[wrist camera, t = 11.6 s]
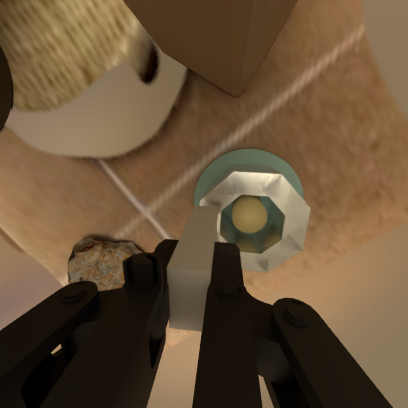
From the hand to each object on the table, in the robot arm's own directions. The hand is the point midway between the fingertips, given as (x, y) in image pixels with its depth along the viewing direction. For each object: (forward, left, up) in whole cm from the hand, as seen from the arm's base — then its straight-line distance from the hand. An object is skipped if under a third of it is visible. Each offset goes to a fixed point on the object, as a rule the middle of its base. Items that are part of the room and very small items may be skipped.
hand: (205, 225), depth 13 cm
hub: (+4, +1, -12) cm, 12 cm away
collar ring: (+4, +1, -10) cm, 11 cm away
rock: (-4, -19, -12) cm, 23 cm away
